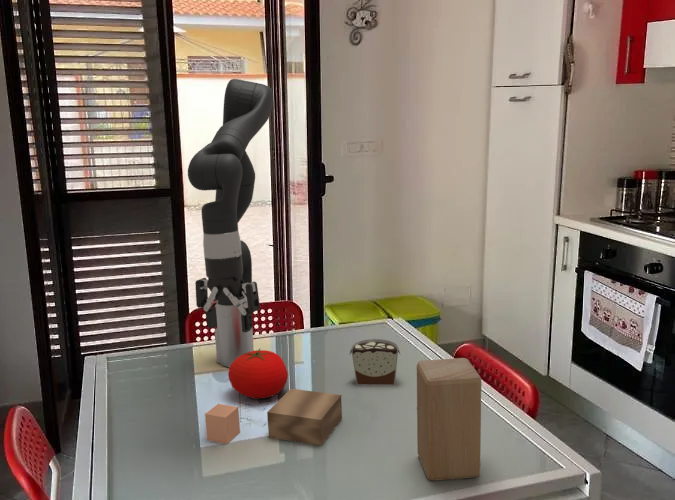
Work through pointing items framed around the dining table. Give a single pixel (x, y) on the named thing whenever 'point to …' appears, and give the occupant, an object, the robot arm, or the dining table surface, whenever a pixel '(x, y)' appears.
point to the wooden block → (448, 418)
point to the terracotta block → (222, 423)
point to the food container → (375, 362)
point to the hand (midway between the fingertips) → (229, 329)
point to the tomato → (258, 374)
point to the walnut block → (305, 416)
